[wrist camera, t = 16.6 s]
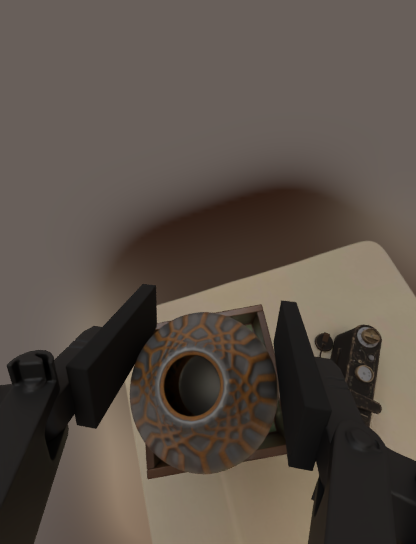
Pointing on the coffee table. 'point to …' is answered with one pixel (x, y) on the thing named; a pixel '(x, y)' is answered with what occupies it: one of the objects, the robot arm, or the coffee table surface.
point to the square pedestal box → (276, 436)
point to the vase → (203, 393)
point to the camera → (357, 364)
